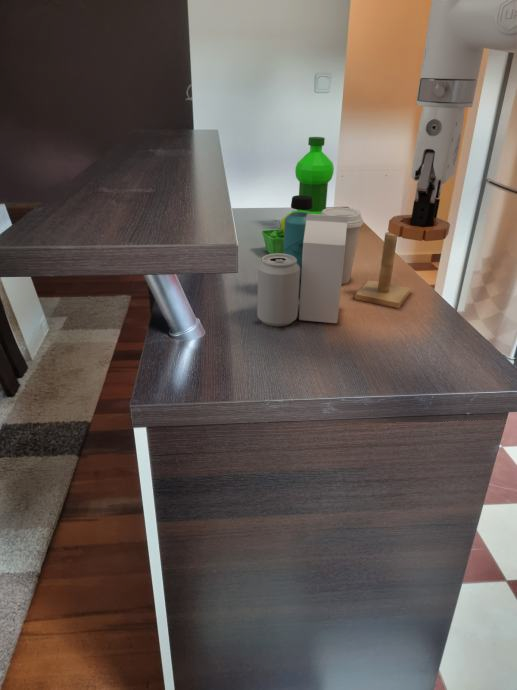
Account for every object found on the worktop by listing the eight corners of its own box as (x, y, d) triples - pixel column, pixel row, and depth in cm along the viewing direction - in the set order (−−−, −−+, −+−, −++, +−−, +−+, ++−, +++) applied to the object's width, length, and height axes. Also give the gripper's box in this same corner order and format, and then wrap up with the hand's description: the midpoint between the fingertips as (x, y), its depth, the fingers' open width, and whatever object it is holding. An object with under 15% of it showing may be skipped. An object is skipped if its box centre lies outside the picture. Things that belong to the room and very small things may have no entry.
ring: (451, 229, 79) (453, 219, 78) (441, 244, 72) (443, 233, 71) (396, 222, 82) (398, 212, 81) (382, 235, 76) (384, 224, 75)
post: (409, 293, 108) (420, 231, 102) (398, 308, 101) (408, 243, 95) (368, 285, 112) (375, 225, 105) (354, 299, 105) (362, 236, 98)
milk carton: (337, 324, 94) (347, 221, 85) (298, 320, 95) (304, 219, 86) (338, 308, 100) (348, 211, 91) (302, 305, 102) (308, 209, 92)
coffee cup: (309, 284, 111) (314, 215, 104) (317, 269, 119) (322, 204, 112) (354, 289, 109) (362, 219, 102) (358, 274, 117) (366, 208, 110)
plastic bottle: (303, 237, 142) (309, 141, 130) (287, 227, 151) (291, 136, 139) (335, 233, 146) (343, 139, 134) (317, 224, 154) (323, 134, 142)
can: (292, 310, 100) (295, 250, 94) (301, 327, 93) (305, 264, 87) (254, 312, 98) (254, 251, 93) (260, 329, 92) (262, 266, 86)
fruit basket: (300, 245, 135) (302, 202, 130) (315, 256, 128) (318, 211, 123) (260, 250, 132) (260, 205, 126) (273, 261, 124) (274, 214, 119)
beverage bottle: (273, 293, 107) (277, 195, 97) (295, 285, 111) (301, 191, 101) (296, 303, 103) (302, 201, 93) (318, 294, 107) (326, 196, 97)
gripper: (465, 97, 63) (437, 243, 72) (481, 93, 76) (455, 218, 84) (404, 95, 66) (385, 235, 75) (429, 91, 78) (409, 211, 87)
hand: (422, 225), depth 80 cm, fingers closed on ring, 2 cm apart
